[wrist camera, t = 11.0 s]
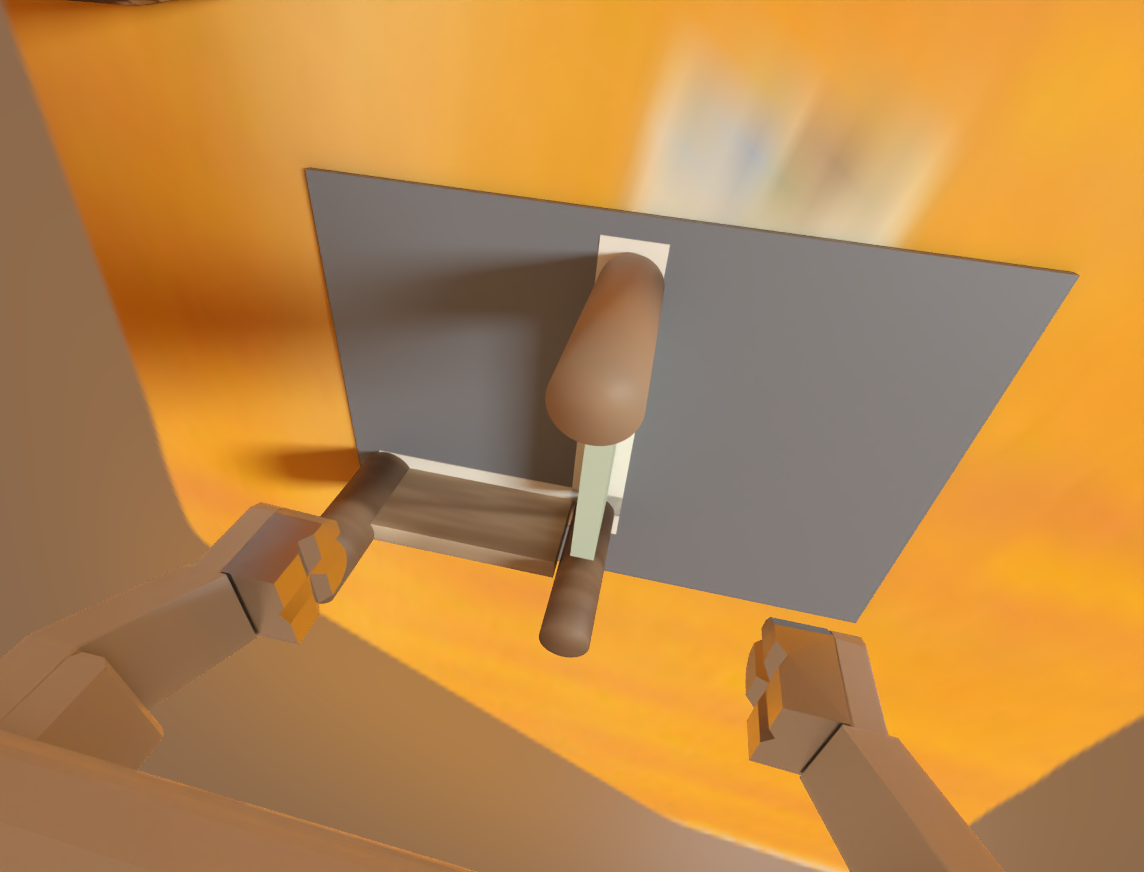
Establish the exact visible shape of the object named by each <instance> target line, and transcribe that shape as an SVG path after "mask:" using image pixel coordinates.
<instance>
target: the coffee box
mask: <svg viewBox="0 0 1144 872" xmlns="http://www.w3.org/2000/svg"><path fill="white" fill-rule="evenodd" d="M69 1H82V2H95V3H107V4H119V5H133V6H136V5H145V4H152V3H158V2H164V1H171V0H69Z"/></svg>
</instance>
